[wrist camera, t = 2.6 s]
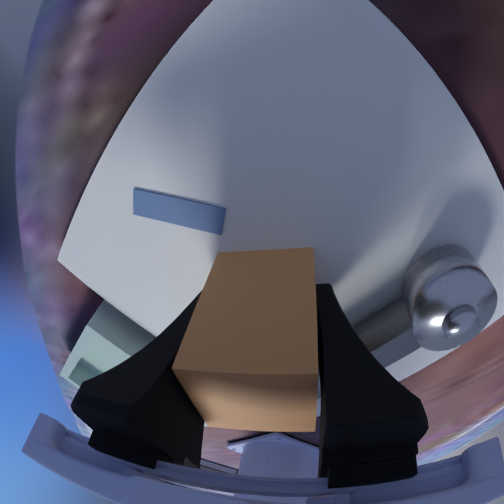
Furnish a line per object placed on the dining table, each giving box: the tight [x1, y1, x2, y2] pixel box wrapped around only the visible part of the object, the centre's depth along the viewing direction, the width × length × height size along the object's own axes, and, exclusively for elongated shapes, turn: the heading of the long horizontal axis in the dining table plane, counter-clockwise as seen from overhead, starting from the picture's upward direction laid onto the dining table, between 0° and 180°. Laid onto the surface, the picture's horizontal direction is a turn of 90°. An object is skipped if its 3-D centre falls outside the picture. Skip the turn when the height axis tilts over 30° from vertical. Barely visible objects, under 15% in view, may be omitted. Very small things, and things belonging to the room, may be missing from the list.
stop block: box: [172, 247, 318, 432], centre depth 11 cm, size 4×4×6 cm
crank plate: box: [57, 0, 504, 417], centre depth 13 cm, size 21×19×1 cm
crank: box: [317, 245, 498, 399], centre depth 13 cm, size 14×6×3 cm, turn 139°
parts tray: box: [60, 299, 208, 427], centre depth 20 cm, size 12×12×2 cm
